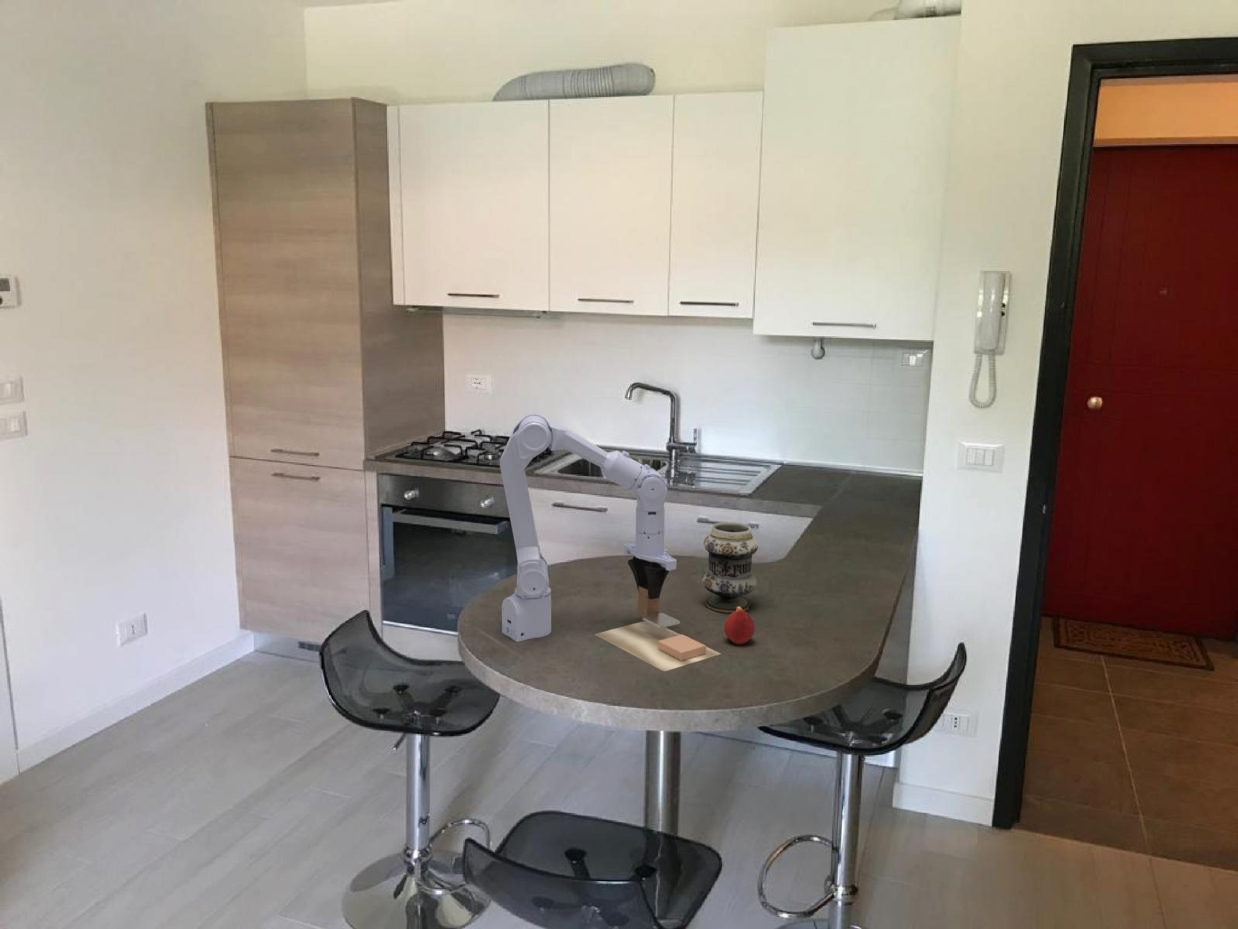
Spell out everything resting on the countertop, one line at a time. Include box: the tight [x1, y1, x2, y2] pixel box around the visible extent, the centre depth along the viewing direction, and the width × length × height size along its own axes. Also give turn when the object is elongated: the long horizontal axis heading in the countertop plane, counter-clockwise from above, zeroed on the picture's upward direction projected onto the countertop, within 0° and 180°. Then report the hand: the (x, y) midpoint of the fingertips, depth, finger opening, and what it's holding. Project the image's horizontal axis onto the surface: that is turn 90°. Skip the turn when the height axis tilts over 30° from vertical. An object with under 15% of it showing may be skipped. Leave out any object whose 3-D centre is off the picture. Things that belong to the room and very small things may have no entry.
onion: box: [723, 607, 756, 645], centre depth 183 cm, size 6×6×8 cm
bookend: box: [637, 584, 681, 628], centre depth 187 cm, size 5×8×6 cm, turn 37°
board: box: [593, 620, 722, 673], centre depth 182 cm, size 14×22×1 cm, turn 37°
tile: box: [658, 633, 707, 661], centre depth 178 cm, size 6×2×7 cm
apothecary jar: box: [701, 521, 759, 614], centre depth 205 cm, size 12×12×18 cm
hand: (648, 595), depth 189 cm, fingers closed on bookend, 3 cm apart
